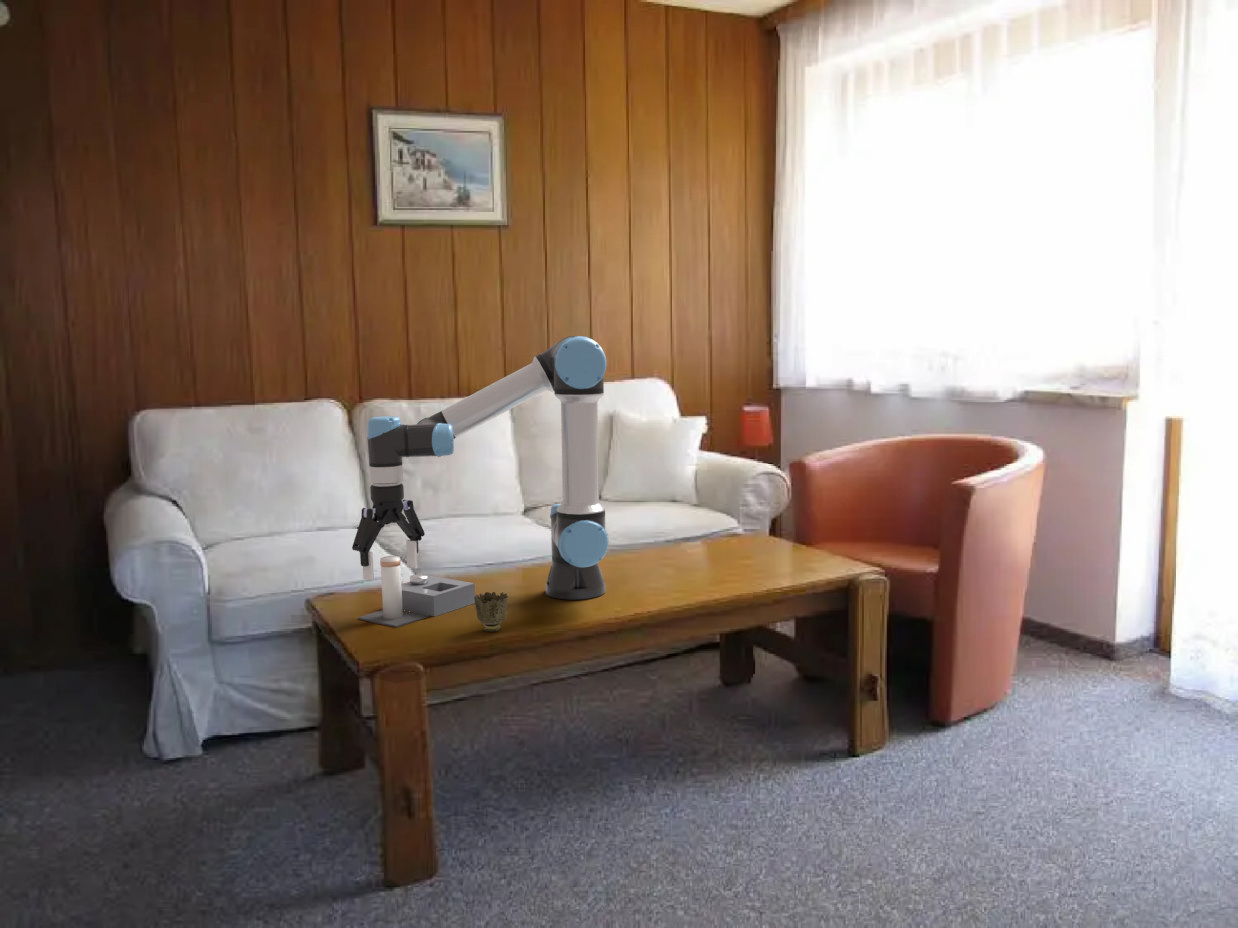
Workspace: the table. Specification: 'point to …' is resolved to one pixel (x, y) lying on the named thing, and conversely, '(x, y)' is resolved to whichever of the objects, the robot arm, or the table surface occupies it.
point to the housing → (437, 596)
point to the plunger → (419, 579)
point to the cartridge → (391, 587)
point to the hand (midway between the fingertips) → (391, 573)
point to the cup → (491, 610)
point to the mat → (406, 619)
